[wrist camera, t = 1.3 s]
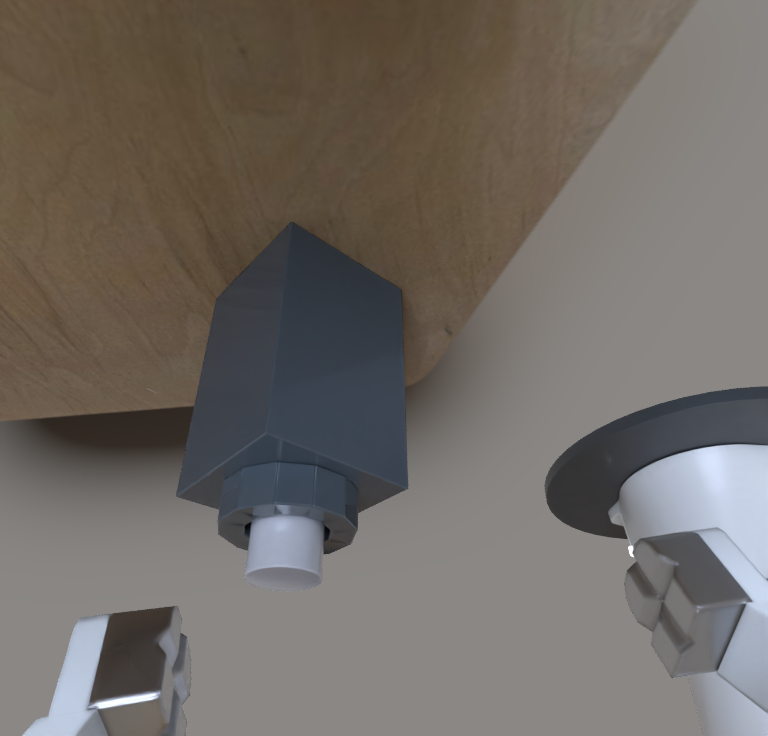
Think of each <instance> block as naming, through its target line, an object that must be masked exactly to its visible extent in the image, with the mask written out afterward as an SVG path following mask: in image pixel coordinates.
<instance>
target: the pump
mask: <svg viewBox="0 0 768 736" xmlns="http://www.w3.org/2000/svg"><path fill="white" fill-rule="evenodd" d="M324 534H325V525H324V524H323V523H322V522H319V521H316V520H313V519H310V518H307V517H304V516H292V515H275V516H268V517H262V518H256V519H255V520H253V521H252V522H251V527H250V535H249V543H248V551H247V560H246V567H245V575H244V576H245V580H246V581H247V582H248V583H250V584H251V585H254V586H256V587H259V588H263V589H268V590H275V591H299V590H305V589H310V588H313V587H315V586H317V585H319V584H320V583H321V581H322V573H323V554H324Z"/></svg>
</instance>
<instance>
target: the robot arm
mask: <svg viewBox="0 0 768 736" xmlns="http://www.w3.org/2000/svg"><path fill="white" fill-rule="evenodd" d="M608 515H609V518H610V520H611V522H612V523H613V524H617V525H621V526H624V529H625V532H626V535H627V538H628V541H629V544H630V547H629V552H630V555H631V556H633V557H634V559H635V563H634V564H633V565H632V566H631V567H630V568H629V569H628V570H627V573H626V578H625V583H624V585H625V592H626V599H627V601H628V604H629V607H630V609H631V611H632V613H633V614H634V616H635V618H636V620H637V622H638V623H640V624H641V625H643V626H644V627H646V628H647V629H649V630H650V631H652V641H651V645H652V647H653V648H654V650H655V652H656V653H657V655H658V656H659V658H660V660H661V662H662V663H663V664H664V666H665V668H666V670H667V671H668V673H669V675H670V676H671V678H674V677H681V676H687V677H688V681H689V685H690V689H691V692H692V696H693V700H694V703H695V707H696V711H697V714H698V718H699V722H700V726H701V729H702V733H703V736H768V445H750V444H733V445H720V446H712V447H705V448H700V449H695V450H691V451H687V452H683V453H679V454H676V455H673V456H670V457H667V458H664V459H661V460H659V461H657V462H654V463H652V464H650V465H648V466H646V467H644V468H642V469H641V470H639V471H637V472H636V473H634V474H633V475H632V476H630V477H629V478H628V479H627V480H626V481H625V482H624V484H623V485H622V487H621V488H620V491H619V499H618V502H616V503H615V504H614V505H613V506H612V507H611V508H610V509H609V511H608ZM181 624H182V618H181V615H180V611H179V608H178V606H173V607H164V608H155V609H147V610H138V611H130V612H121V613H113V614H106V615H98V616H91V617H83V618H80V620H79V621H78V623H77V624H76V626H75V627H74V630H73V633H72V636H71V640H70V643H69V646H68V650H67V653H66V657H65V660H64V663H63V667H62V670H61V673H60V677H59V681H58V684H57V687H56V690H55V694H54V698H53V701H52V704H51V707H50V711H49V714H48V716H47V717H43V718H38V719H37V720H36V721H35V722H34V723H33V724H32V725H31V726H30V727H29V729H27V731H26V732H25V733H24V734H23V735H22V736H186V727H187V721H186V718H185V714H184V710H183V707H182V705H183V704H184V702H185V701H186V700H187V698H188V697H189V696H190V686H191V656H190V648H189V643H188V640H187V637H186V636H185V635H183V634H182V633H181Z"/></svg>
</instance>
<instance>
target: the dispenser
mask: <svg viewBox="0 0 768 736" xmlns="http://www.w3.org/2000/svg"><path fill="white" fill-rule="evenodd" d="M407 470H408V468H407V438H406V407H405V376H404V345H403V315H402V290H401V289H399V288H398V287H396V286H394V285H393V284H391V283H390V282H388V281H386V280H385V279H383V278H382V277H380V276H378V275H377V274H375V273H374V272H372V271H370V270H369V269H367V268H365V267H364V266H362V265H361V264H359V263H357V262H356V261H354V260H353V259H351V258H349V257H348V256H346V255H345V254H343V253H341V252H340V251H338V250H337V249H335V248H333V247H332V246H330V245H328V244H327V243H325V242H324V241H322V240H320V239H319V238H317V237H316V236H314V235H312V234H311V233H309V232H308V231H306V230H304V229H303V228H301V227H300V226H298V225H296V224H295V223H293V222H291V223H290V224H289V225H288V226H287V227H286V228H285V229H284V230H283V231H282V232H281V233H280V234H279V235H278V236H277V237H276V238H275V239H274V240H273V241H272V242H271V243H270V244H269V245H268V246H267V247H266V249H265V250H264V251H263V252H262V253H261V254H260V255H259V256H258V257H257V258H256V259H255V260H254V261H253V262H252V263H251V264H250V265H249V266H248V267H247V268H246V269H245V270H244V271H243V272H242V273H241V274H240V275H239V276H238V277H237V278H236V279H235V280H234V281H233V282H232V283H231V284H230V285H229V286H228V287H227V288H226V289H225V290H224V291H223V292H222V294H221V295H220V296H219V297H218V298H217V299H216V303H215V308H214V313H213V318H212V322H211V327H210V332H209V337H208V342H207V347H206V352H205V357H204V361H203V366H202V371H201V376H200V381H199V386H198V391H197V396H196V401H195V405H194V410H193V415H192V420H191V425H190V430H189V435H188V440H187V444H186V449H185V454H184V459H183V464H182V469H181V474H180V479H179V484H178V489H177V493H176V497H179V498H183V499H186V500H190V501H193V502H196V503H199V504H202V505H206V506H209V507H212V508H216V509H219V515H218V535H220V536H221V537H223V538H224V539H226V540H227V541H228V542H230V543H232V544H233V545H234V546H236V547H237V548H241V549H244V550H248V543H249V535H250V527H251V522H252V521H253V520H255V519H256V518H262V517H268V516H275V515H292V516H304V517H307V518H310V519H313V520H316V521H319V522H322V523H323V524H324V525H325V534H324V554H330V553H332V552H335V551H337V550H339V549H341V548H344V547H346V546H348V545H350V544H351V543H352V542H353V539H354V537H355V534H356V532H357V530H358V513H359V512H361V511H364V510H365V509H368V508H370V507H372V506H374V505H376V504H378V503H380V502H382V501H384V500H386V499H388V498H390V497H392V496H394V495H396V494H398V493H400V492H403V491H405V490H407V489H408V471H407Z"/></svg>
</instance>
